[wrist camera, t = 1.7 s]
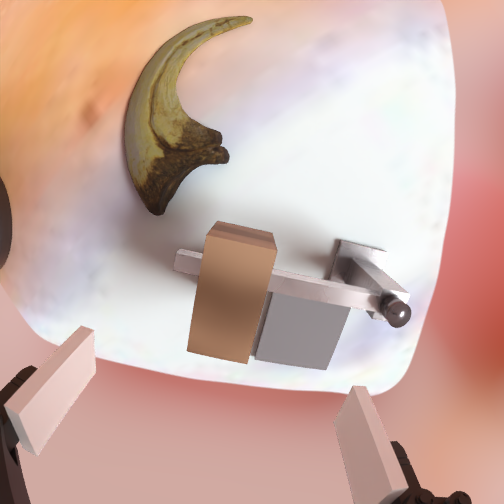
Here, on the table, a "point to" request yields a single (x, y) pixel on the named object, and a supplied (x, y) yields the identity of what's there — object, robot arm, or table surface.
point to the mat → (300, 332)
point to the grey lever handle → (336, 282)
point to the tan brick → (231, 291)
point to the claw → (170, 121)
